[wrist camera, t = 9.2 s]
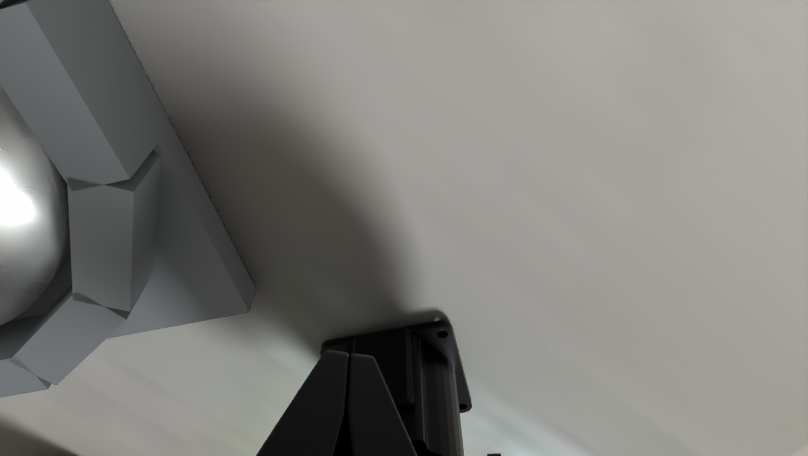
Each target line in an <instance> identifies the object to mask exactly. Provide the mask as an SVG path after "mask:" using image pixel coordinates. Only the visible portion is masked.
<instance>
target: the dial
mask: <svg viewBox="0 0 808 456" xmlns="http://www.w3.org/2000/svg"><path fill="white" fill-rule="evenodd" d="M70 253H71V248H70V228H69V207H68V186H67V183H66V181H65V180H64V178H63V177H62V175H61V174H60V172H59V171H58V169H57V168H56V166H55V165H54V163H53V162H52V160H51V159H50V158H49V156H48V155H47V153H46V152H45V150H44V149H43V147H42V146H41V144H40V143H39V141H38V140H37V138H36V137H35V135H34V134H33V132H32V131H31V129H30V128H29V126H28V125H27V123H26V122H25V120H24V119H23V117H22V116H21V114H20V113H19V111H18V110H17V108H16V107H15V106H14V104H13V103H12V101H11V100H10V98H9V97H8V95H7V94H6V92H5V91H4V89H3V88H2V86H1V85H0V325H2V324H5V323H7V322H9V321H11V320H12V319H14V318H15V317H17V316H18V315H20V314H21V313H23V312H24V311H26V310H27V309H28V308H29V307H30V306H31V305H32V304H33V303H34V302H35V301H36V300H37V299H38V298H39V297H40V296H41V295H42V293H43V292H44V291H45V289H46V288H47V287H48V286H49V284H50V283H51V282H52V280H53V279H54V278H55V277H56V275H57V274H58V273H59V271H60V270H61V268H62V267H63V265H64V264H65V262H66V261H67V259H68V258H69V256H70Z"/></svg>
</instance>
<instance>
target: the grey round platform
mask: <svg viewBox="0 0 808 456" xmlns="http://www.w3.org/2000/svg"><path fill="white" fill-rule="evenodd" d="M0 85H1V86H2V88H3V89H4V91H5V92H6V94H7V95H8V97H9V98H10V100H11V101H12V103H13V104H14V106H15V107H16V108H17V110H18V111H19V113H20V114H21V116H22V117H23V119H24V120H25V122H26V123H27V125H28V126H29V128H30V129H31V131H32V132H33V134H34V135H35V137H36V138H37V140H38V141H39V143H40V144H41V146H42V147H43V149H44V150H45V152H46V153H47V155H48V156H49V158H50V159H51V160H52V162H53V163H54V165H55V166H56V168H57V169H58V171H59V172H60V174H61V175H62V177H63V178H64V180H65V181H66V183H67V186H68V207H69V228H70V248H71V253H70V256H69V258H68V259H67V261H66V262H65V264H64V265H63V267H62V268H61V270H60V271H59V273H58V274H57V275H56V277H55V278H54V279H53V280H52V282H51V283H50V284H49V286H48V287H47V288H46V289H45V291H44V292H43V293H42V295H41V296H40V297H39V298H38V299H37V300H36V301H35V302H34V303H33V304H32V305H31V306H30V307H29V308H28V309H27V310H26V311H24V312H23V313H21V314H20V315H18V316H17V317H15V318H14V319H12V320H11V321H9V322H7V323H5V324H2V325H0V397H6V396H12V395H17V394H23V393H29V392H35V391H40V390H46V389H48V388H49V387H50V385H51V383H52V384H54V385H57V384H58V383H59V382H60V381H61V380H63V379H64V378H65V377H66V376H67V375H68V374H69V373H70V372H71V371H72V370H73V369H74V368H75V367H76V366H78V365H79V364H80V363H81V362H82V361H83V360H84V359H85V358H86V357H87V356H88V355H89V354H90V353H91V352H92V351H94V350H95V349H96V348H97V347H98V346H99V345H100V344H101V343H102V342H103V341H104V340H105V339H107V338H113V337H118V336H124V335H129V334H134V333H140V332H145V331H150V330H156V329H161V328H167V327H172V326H177V325H183V324H188V323H194V322H199V321H204V320H210V319H215V318H221V317H226V316H231V315H237V314H242V313H248V312H249V311H250V308H251V305H252V302H253V298H254V295H255V292H256V288H255V286H254V284H253V282H252V280H251V278H250V276H249V274H248V272H247V270H246V268H245V266H244V264H243V262H242V260H241V258H240V256H239V254H238V252H237V250H236V248H235V247H234V245H233V243H232V241H231V239H230V237H229V235H228V233H227V231H226V229H225V227H224V225H223V223H222V221H221V219H220V217H219V215H218V213H217V211H216V209H215V207H214V206H213V204H212V202H211V200H210V198H209V196H208V194H207V192H206V190H205V188H204V186H203V184H202V182H201V180H200V178H199V176H198V174H197V172H196V170H195V168H194V166H193V165H192V163H191V161H190V159H189V157H188V155H187V153H186V151H185V149H184V147H183V145H182V143H181V141H180V139H179V137H178V135H177V133H176V131H175V129H174V127H173V125H172V124H171V122H170V120H169V118H168V116H167V114H166V112H165V110H164V108H163V106H162V104H161V102H160V100H159V98H158V96H157V94H156V92H155V90H154V88H153V86H152V84H151V82H150V81H149V79H148V77H147V75H146V73H145V71H144V69H143V67H142V65H141V63H140V61H139V59H138V57H137V55H136V53H135V51H134V49H133V47H132V45H131V43H130V41H129V40H128V38H127V36H126V34H125V32H124V30H123V28H122V26H121V24H120V22H119V20H118V18H117V16H116V14H115V12H114V10H113V8H112V6H111V4H110V2H109V0H0Z"/></svg>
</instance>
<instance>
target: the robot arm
mask: <svg viewBox="0 0 808 456" xmlns="http://www.w3.org/2000/svg"><path fill="white" fill-rule="evenodd" d="M439 331H445V332H439ZM320 354H321V358H320V359H319V361H318V362H317V364H316V365H315V367H314V368H313V370H312V371H311V373H310V374H309V376H308V377H307V379H306V380H305V382H304V383H303V385H302V387H301V388H300V390H299V391H298V393H297V394H296V396H295V397H294V399H293V400H292V402H291V403H290V405H289V406H288V408H287V409H286V411H285V412H284V414H283V415H282V417H281V418H280V420H279V421H278V423H277V424H276V426H275V427H274V429H273V431H272V432H271V434H270V435H269V437H268V438H267V440H266V441H265V443H264V444H263V446H262V447H261V449H260V450H259V452H258V453H257V455H256V456H464V450H463V441H462V431H461V422H460V413H463V412H467V411H469V410H470V409H471V408H472V403H471V397H470V393H469V389H468V386H467V382H466V378H465V374H464V370H463V366H462V362H461V358H460V355H459V351H458V347H457V343H456V339H455V335H454V331H453V328H452V325H451V324H450V323H449V322H447V321H437V322H431V323H425V324H420V325H414V326H408V327H403V328H397V329H391V330H386V331H380V332H374V333H369V334H363V335H357V336H351V337H346V338H340V339H334V340H329V341H326V342H324V343H323V344H322V346H321V352H320ZM487 456H501V454H500V453H499V454H487Z"/></svg>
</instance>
